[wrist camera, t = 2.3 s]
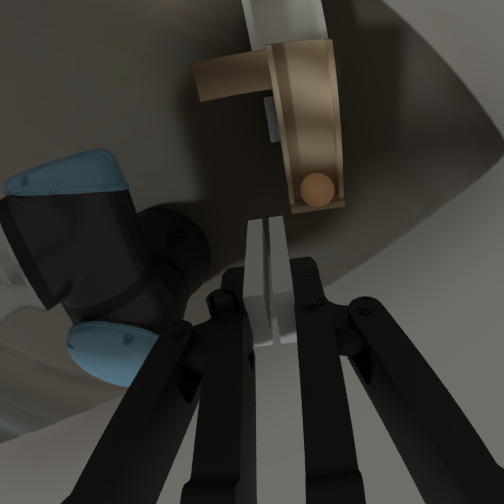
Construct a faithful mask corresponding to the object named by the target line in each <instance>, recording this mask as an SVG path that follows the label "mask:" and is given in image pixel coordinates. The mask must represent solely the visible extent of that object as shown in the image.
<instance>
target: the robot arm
mask: <svg viewBox="0 0 504 504" xmlns="http://www.w3.org/2000/svg"><path fill="white" fill-rule="evenodd" d="M3 191H4V193H5V195H6V194H7V196H6V197H4V198H3V199H1V200H0V325H1V324H2V323H3V322H5V321H6V320H7V319H9V318H10V317H12V316H13V315H14V314H16V313H17V312H19V311H20V310H22V309H23V308H31V309H35V310H39V311H43V312H46V311H48V310H49V309H51V308H52V307H54V306H55V305H57V304H58V303H61V304H62V306H63V307H64V309H65V311H66V312H67V314H68V316H69V317H70V319H71V320H72V322H73V326H72V327H71V328H70V329H69V331H68V334H67V335H68V337H67V349H68V352H69V353H70V355H71V357H72V358H73V360H74V361H75V362H76V363H77V364H78V365H79V366H80V367H81V368H83V369H84V370H85V371H87V372H88V373H90V374H91V375H93V376H95V377H97V378H99V379H101V380H104V381H107V382H109V383H112V384H115V385H120V386H125V387H129V388H128V390H127V392H126V394H125V395H124V397H123V399H122V401H121V403H120V404H119V406H118V408H117V410H116V411H115V413H114V415H113V417H112V418H111V420H110V422H109V424H108V426H107V428H106V429H105V431H104V433H103V435H102V436H101V438H100V440H99V442H98V444H97V446H96V447H95V449H94V451H93V453H92V455H91V457H90V459H89V460H88V462H87V464H86V466H85V468H84V470H83V472H82V474H81V476H80V477H79V479H78V481H77V483H76V485H75V487H74V489H73V491H72V493H71V494H70V495H69V496H68V497H67V498H66V499H65V500H64V501H63V502H62V503H61V504H156V502H157V500H158V497H159V495H160V493H161V490H162V488H163V486H164V483H165V481H166V479H167V476H168V474H169V471H170V469H171V467H172V464H173V462H174V460H175V457H176V455H177V452H178V450H179V448H180V445H181V443H182V440H183V438H184V436H185V433H186V431H187V428H188V426H189V423H190V421H191V419H192V416H193V414H194V411H195V409H196V407H197V404H198V402H199V399H200V402H199V410H198V418H197V426H196V435H195V444H194V454H193V462H192V472H191V478H190V480H189V481H188V482H187V483H185V484H184V487H183V488H182V494H181V500H180V504H257V495H256V493H257V491H256V489H257V487H256V388H255V387H256V386H255V354H254V350H253V341H254V344H255V347H256V346H266V345H273V336H272V310H271V286H270V264H269V256H268V250H267V244H266V239H265V233H264V227H263V222H262V219H256V220H249V221H248V228H247V242H246V257H245V266H242V267H235V268H228V269H227V270H226V271H225V273H224V274H223V276H222V284H221V288H220V289H217V290H215V291H213V292H211V293H210V294H209V295H208V296H207V298H206V303H207V306H208V309H209V312H210V315H211V319H209V320H208V321H206V322H204V323H201V324H198V325H195V326H192V324H191V323H190V322H188V321H185V320H183V318H184V314H185V310H186V306H187V302H188V299H189V298H190V297H191V295H192V294H193V293H194V292H195V291H197V290H198V289H199V288H200V286H201V285H202V284H203V282H204V280H205V279H206V276H207V274H208V270H209V266H210V259H211V255H210V248H209V244H208V242H207V239H206V237H205V236H204V234H203V233H202V231H201V230H200V229H199V227H198V226H197V225H196V224H195V223H193V222H192V221H191V220H190V219H188V218H187V217H185V216H183V215H181V214H179V213H177V212H174V211H170V210H166V209H150V210H145V211H142V212H140V213H138V214H137V212H136V209H135V206H134V204H133V201H132V198H131V195H130V192H129V185H128V183H126V182H125V179H124V177H123V174H122V172H121V170H120V167H119V165H118V162H117V159H116V158H115V156H114V155H113V154H112V153H111V152H110V151H108V150H106V149H102V148H98V149H92V150H88V151H84V152H80V153H77V154H73V155H70V156H67V157H64V158H60V159H57V160H54V161H51V162H48V163H45V164H43V165H40V166H37V167H34V168H32V169H29V170H27V171H24V172H22V173H20V174H17V175H15V176H12V177H10V178H8V179H6V180H5V182H4V190H3ZM269 233H270V251H271V269H272V288H273V298H274V303H275V309H276V315H277V321H278V326H279V332H280V338H281V344H284V343H292V342H297V344H298V358H299V370H300V384H301V399H302V414H303V430H304V431H303V432H304V450H305V472H306V481H305V482H306V504H366V501H365V493H364V485H363V479H362V475H361V473H360V471H359V469H358V464H357V456H356V449H355V443H354V436H353V430H352V424H351V417H350V411H349V405H348V399H347V393H346V388H345V383H344V377H343V371H342V366H341V361H340V356H339V355H342V356H347V357H348V360H349V362H350V364H351V365H352V367H353V369H354V371H355V372H356V374H357V376H358V378H359V380H360V381H361V383H362V385H363V387H364V389H365V390H366V392H367V394H368V396H369V398H370V399H371V401H372V403H373V405H374V407H375V409H376V411H377V412H378V414H379V416H380V418H381V419H382V422H383V423H384V425H385V427H386V429H387V431H388V432H389V435H390V437H391V438H392V440H393V442H394V444H395V446H396V448H397V450H398V452H399V453H400V455H401V457H402V459H403V461H404V463H405V465H406V467H407V469H408V471H409V473H410V474H411V476H412V478H413V480H414V482H415V484H416V486H417V488H418V490H419V492H420V494H421V496H422V498H423V500H424V502H425V503H426V504H504V469H503V468H502V467H500V466H499V465H498V464H497V463H496V462H495V460H494V458H493V457H492V455H491V454H490V452H489V451H488V449H487V447H486V446H485V444H484V443H483V441H482V440H481V438H480V437H479V435H478V434H477V432H476V431H475V429H474V428H473V426H472V425H471V423H470V422H469V420H468V419H467V417H466V416H465V414H464V413H463V412H462V410H461V409H460V407H459V406H458V404H457V403H456V402H455V400H454V399H453V397H452V396H451V394H450V393H449V392H448V390H447V389H446V387H445V386H444V385H443V383H442V382H441V380H440V379H439V378H438V376H437V375H436V374H435V372H434V371H433V369H432V368H431V367H430V365H429V364H428V363H427V362H426V360H425V359H424V357H423V356H422V355H421V353H420V352H419V351H418V349H417V348H416V347H415V346H414V344H413V343H412V342H411V340H410V339H409V338H408V336H407V335H406V334H405V333H404V331H403V330H402V329H401V328H400V326H399V325H398V324H397V323H396V321H395V320H394V319H393V317H392V316H391V315H390V314H389V312H388V311H387V310H386V308H385V307H384V306H383V305H382V304H381V302H379V301H378V300H377V299H375V298H372V297H366V296H363V297H358V298H356V299H354V300H352V301H351V302H350V304H349V306H345V305H337V304H334V303H332V302H330V301H328V300H327V298H326V297H325V295H324V291H323V287H322V283H321V280H320V276H319V272H318V268H317V264H316V261H314V260H313V259H312V258H311V257H302V258H295V259H289V256H288V249H287V242H286V235H285V228H284V222H283V216H276V217H269Z"/></svg>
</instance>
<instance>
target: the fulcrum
mask: <svg viewBox="0 0 504 504" xmlns="http://www.w3.org/2000/svg"><path fill="white" fill-rule="evenodd" d="M263 99H264V105H265V110H266V116H267V122H268V128H269V134H270V140H271V142H278V141H281V140H280V134H279V127H278V121H277V114H276V108H275V102H274V96H269V97H263Z"/></svg>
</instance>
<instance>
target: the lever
mask: <svg viewBox="0 0 504 504" xmlns="http://www.w3.org/2000/svg"><path fill="white" fill-rule="evenodd" d="M264 45H265V49H263V50H257V51H250V52H244V53H239V54H233V55H228V56H223V57H218V58H213V59H208V60H204V61H200V62H195V63H192V64H191V66H192V70H193V74H194V78H195V82H196V86H197V90H198V94H199V98H200V102H203V101H208V100H212V99H217V98H222V97H227V96H233V95H238V94H244V93H250V92H256V91H262V90H269V89H272V90H273V96H274V102H275V108H276V114H277V121H278V127H279V134H280V140H281V147H282V153H283V160H284V167H285V174H286V181H287V189H288V196H289V202H290V208H291V213H292V214H294V213H302V212H309V211H316V210H324V209H331V208H339V207H345V199H344V186H343V158H342V139H341V124H340V110H339V98H338V87H337V77H336V68H335V59H334V51H333V43H332V39H328V38H322V39H308V40H297V41H288V42H279V43H271V44H264ZM312 173H322V174H324V175H326V176H328V177H329V178H330V179H331V181H332V183H333V185H334V195H333V198H332V199H331V201H330V202H329V203H328V204H326V205H324V206H321V207H314V206H311V205H309V204H307V203H306V202H305V201H304V200H303V198H302V196H301V192H300V186H301V183H302V181H303V180H304V178H305V177H306V176H308V175H309V174H312Z"/></svg>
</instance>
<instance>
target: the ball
mask: <svg viewBox="0 0 504 504" xmlns="http://www.w3.org/2000/svg"><path fill="white" fill-rule="evenodd" d="M300 192H301V196H302V198H303V200H304V201H305V202H306V203H307V204H309V205H311V206H314V207H321V206H324V205H326V204H328V203H329V202H330V201H331V199H332V198H333V195H334V185H333V183H332V181H331V179H330V178H329V177H328V176H326V175H324V174H322V173H312V174H309V175H308V176H306V177H305V178H304V180H303V181H302V183H301V186H300Z"/></svg>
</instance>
